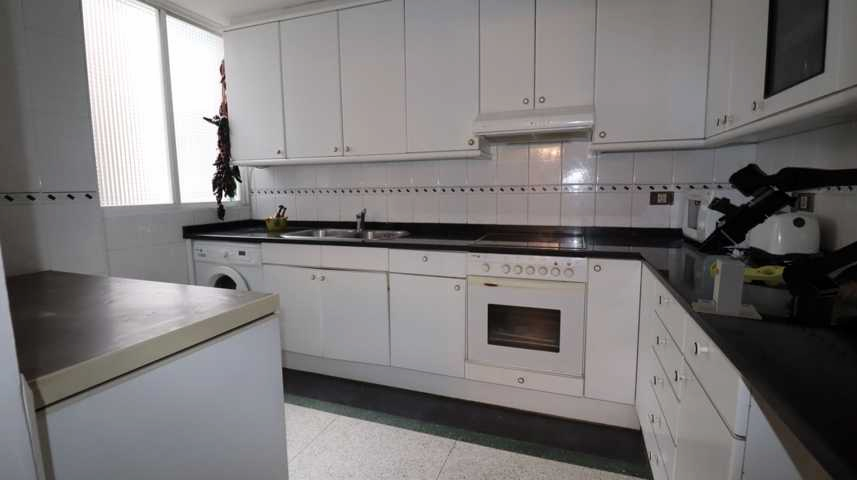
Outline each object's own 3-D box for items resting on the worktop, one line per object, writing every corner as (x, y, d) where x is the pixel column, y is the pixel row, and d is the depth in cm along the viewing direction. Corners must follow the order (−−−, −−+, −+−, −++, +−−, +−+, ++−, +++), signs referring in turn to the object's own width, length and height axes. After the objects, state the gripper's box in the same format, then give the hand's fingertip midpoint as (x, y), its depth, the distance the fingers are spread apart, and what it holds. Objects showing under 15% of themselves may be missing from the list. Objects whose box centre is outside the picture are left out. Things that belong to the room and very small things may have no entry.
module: (734, 307, 101) (739, 259, 99) (739, 314, 95) (745, 264, 93) (708, 304, 103) (713, 258, 102) (712, 311, 98) (717, 262, 96)
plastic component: (706, 270, 134) (720, 255, 138) (711, 288, 136) (725, 273, 140) (781, 278, 117) (794, 260, 121) (785, 299, 119) (798, 281, 123)
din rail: (754, 311, 99) (755, 303, 99) (761, 319, 93) (762, 311, 93) (691, 303, 105) (692, 296, 105) (694, 311, 99) (695, 303, 99)
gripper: (731, 185, 109) (680, 223, 117) (733, 186, 94) (674, 230, 102) (765, 215, 105) (710, 252, 113) (773, 222, 90) (708, 264, 99)
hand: (700, 249), depth 107 cm, fingers open, 9 cm apart
